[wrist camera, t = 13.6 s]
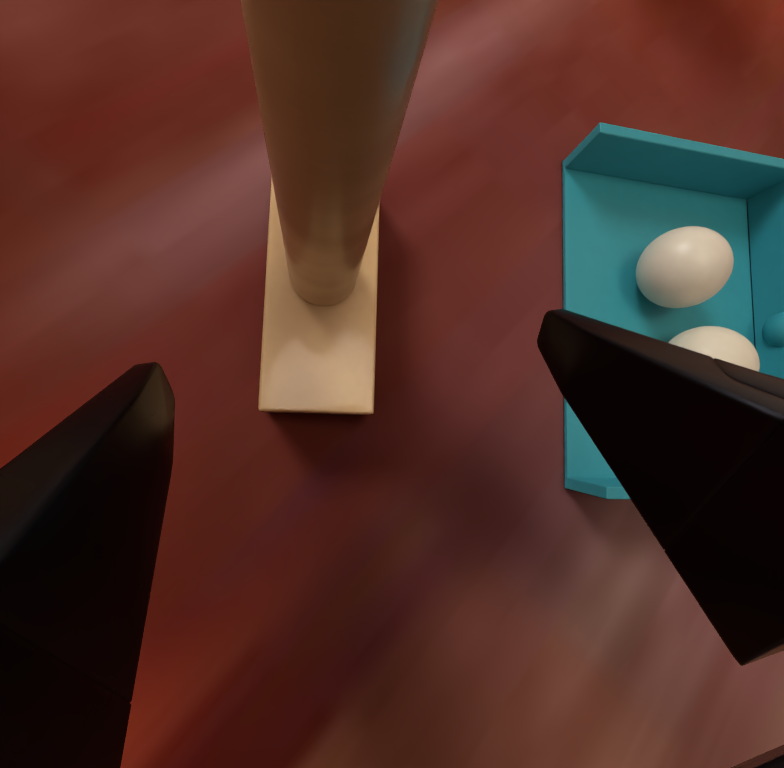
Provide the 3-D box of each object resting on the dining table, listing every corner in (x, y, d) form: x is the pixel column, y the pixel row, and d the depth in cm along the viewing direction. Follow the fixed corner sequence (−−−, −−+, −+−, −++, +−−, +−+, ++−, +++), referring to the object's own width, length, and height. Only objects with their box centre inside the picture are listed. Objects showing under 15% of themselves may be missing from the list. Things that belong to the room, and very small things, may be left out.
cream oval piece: (630, 299, 21) (716, 294, 19) (635, 319, 18) (735, 316, 17) (636, 227, 20) (728, 216, 18) (642, 237, 17) (752, 225, 15)
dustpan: (564, 488, 18) (606, 499, 16) (562, 161, 20) (600, 121, 17) (869, 490, 22) (947, 499, 19) (846, 211, 23) (915, 184, 21)
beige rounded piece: (629, 382, 20) (693, 389, 20) (681, 416, 17) (756, 424, 17) (658, 312, 19) (726, 321, 19) (721, 335, 15) (802, 345, 16)
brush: (372, 191, 18) (532, -455, 5) (365, 415, 17) (544, 391, 4) (279, 179, 17) (161, -633, 4) (266, 412, 16) (50, 371, 3)
